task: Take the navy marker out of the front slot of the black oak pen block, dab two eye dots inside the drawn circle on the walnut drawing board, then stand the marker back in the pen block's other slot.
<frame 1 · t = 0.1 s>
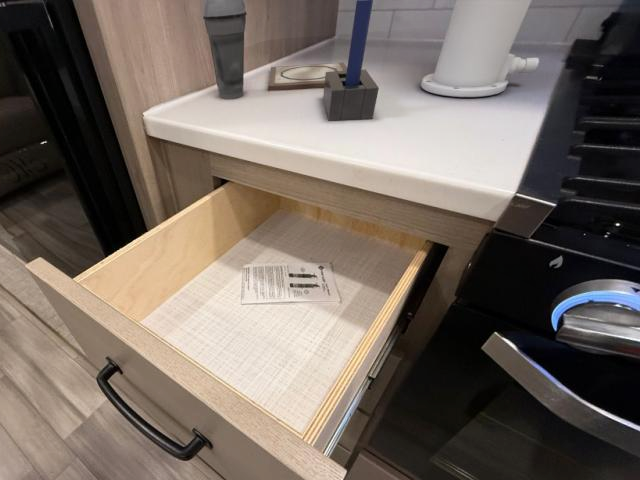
pen block: (345, 108, 52), on the worktop
marker: (347, 113, 50), resting in pen block
beverage cup: (231, 96, 62), on the worktop
drawing board: (308, 77, 67), on the worktop
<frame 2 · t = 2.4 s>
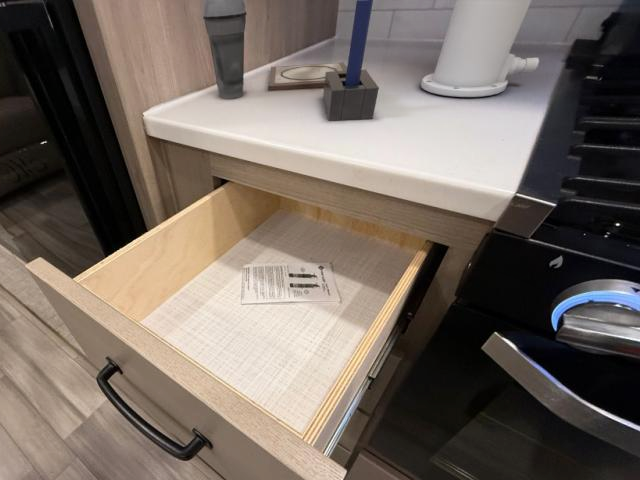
nothing on the worktop moved.
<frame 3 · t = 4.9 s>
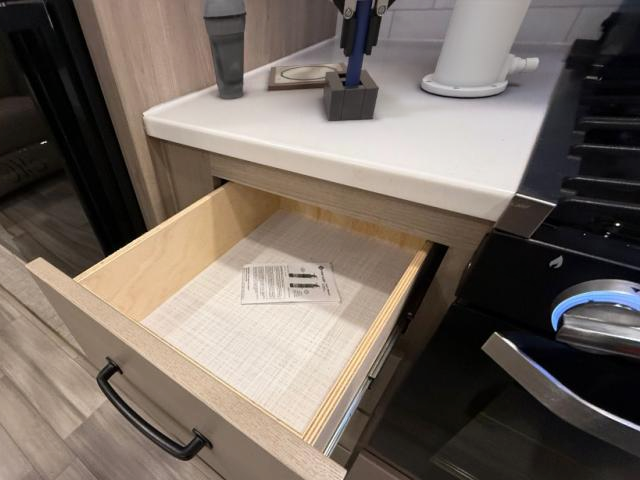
hand: (356, 53, 45), 8 cm above the worktop, tool pointing down, fingers closed on marker, 2 cm apart
marker: (347, 113, 50), resting in pen block, touching gripper
everything else where it was.
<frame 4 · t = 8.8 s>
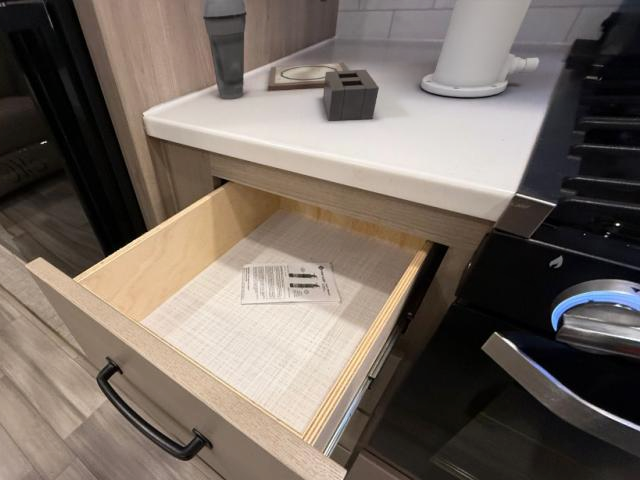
marker: (323, 1, 59), point 12 cm above the worktop, touching gripper
everything else where it was.
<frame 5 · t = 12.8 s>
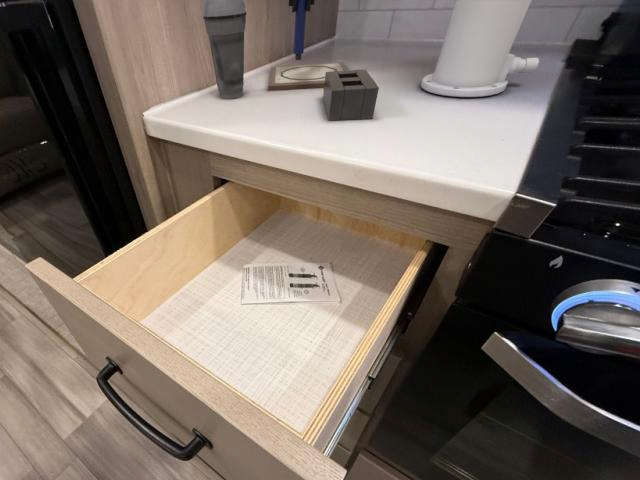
hand: (301, 10, 60), 11 cm above the worktop, tool pointing down, fingers closed on marker
marker: (298, 59, 66), point 3 cm above the worktop, touching gripper
everything else where it was.
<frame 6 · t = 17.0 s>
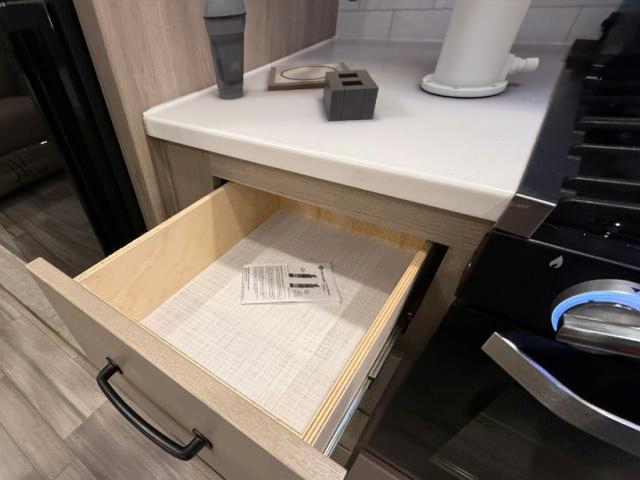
marker: (353, 1, 45), point 13 cm above the worktop, touching gripper
everything else where it was.
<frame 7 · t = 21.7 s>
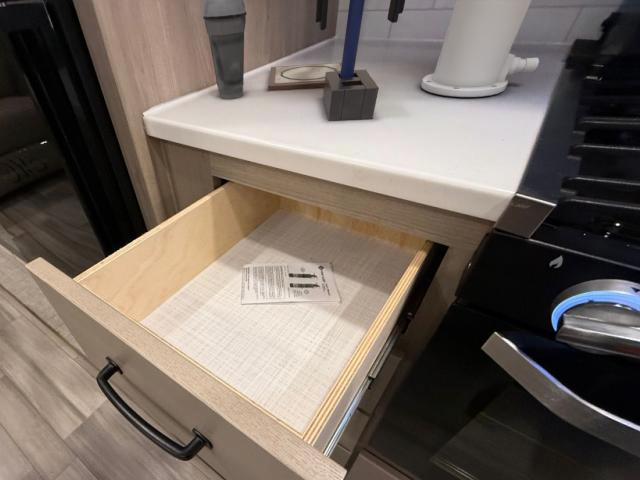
hand: (356, 25, 46), 10 cm above the worktop, tool pointing down, fingers open, 9 cm apart
marker: (342, 104, 53), resting in pen block
everything else where it was.
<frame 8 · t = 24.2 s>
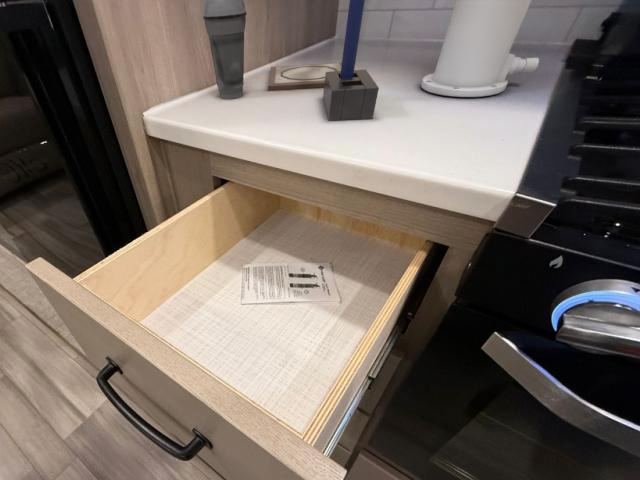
nothing on the worktop moved.
at the end: marker 0.3 cm from the target spot in the pen block, point 0.0 cm above the pen block's base; marker tilted 0°; marker touching worktop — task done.
